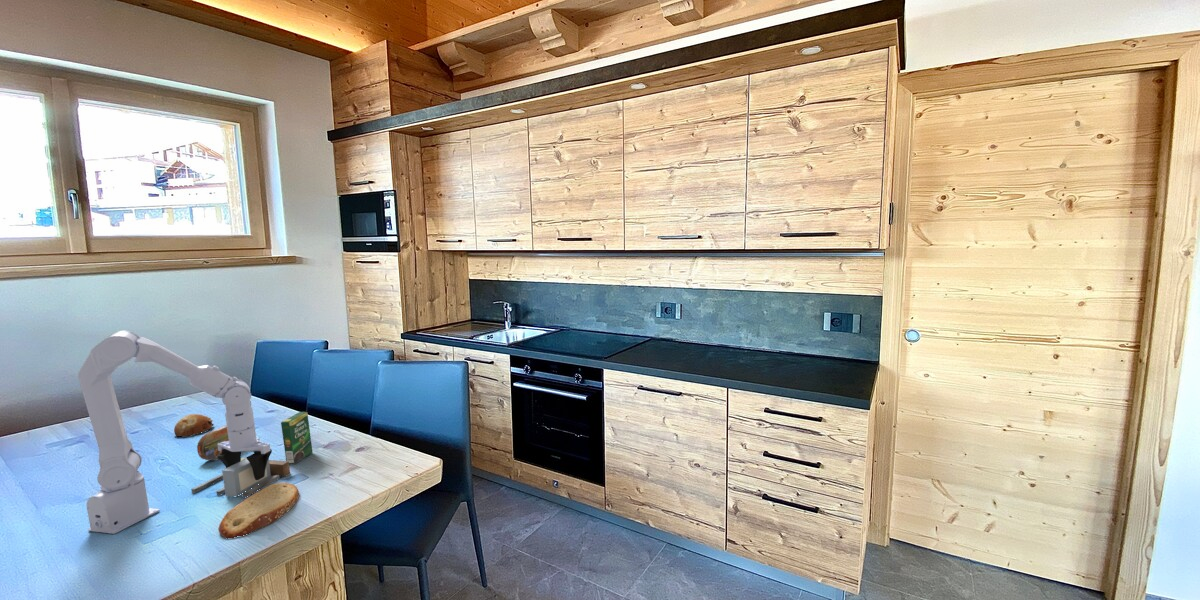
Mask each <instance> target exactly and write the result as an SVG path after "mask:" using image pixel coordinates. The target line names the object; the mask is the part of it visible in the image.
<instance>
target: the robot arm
mask: <svg viewBox="0 0 1200 600" xmlns="http://www.w3.org/2000/svg"><path fill="white" fill-rule="evenodd" d="M133 358H135V360H134V363H151V362H153V363H155V364H157V365H159V366H161V367H164V368H165V369H168V370H170V371H173V372H175V373H177V374H179V375H181V376H184V377H186V378H188V383H189V385H190V386H192V387H193V388H195V389H198V390H199V391H200V392H204V393H206V394H208V395H210V396H212V397H214V398H218V399H221V401H222V403H223V405H224V407H225V413H224V414H225V416H224V417H225V422H226V423H225V424H226V425H227V431H228V438H229V441H224V442H221V443H219V444H217V445H218V451H222V453H221V454H218V455H217V458H218V460H219V461H220V462H222V464H223V465H224V466H225V469H226V468H228V467H230V466H232V465H234V464H236V463H238V462H240V461H241V458H242V452H244V453H245V452H247V453H248V452H249V453H252V454H249V455H247V456H246V457H245V458H247V460H248V461H249V463H250V464H251V467H252V469H253V474H254V478H255V480H259V479H261V478H263V477H264V476H265V469H266V465H267V461H268V459H269V460H270V456H271V454H272V452H273V451H272V449H271V444H270V443H266V442H264V441H261V439H260V437H257V432H256V426H255V417H254V410H253V407H252V401H251V398H252V393H251V388H250V386H249V384H247V382H245V381H244V380H243V379H238V377H236V376H233V377H232V376H230V375H228V374H227V373H224V372H222V371H221V370H220V367H218V366H217V365H212V366H210V364H209V365H208V364H205V365H197V364H195V363H193V362H191V361H190V360H188V359H186V358H184V357H182V356H181V355H179V354H177V353H175V352H174V351H172V350H170V349H169V348H166V347H164V346H162V345H161V344H159V343H158V342H155V341H153V340H151V339H149V338H147V337H144V336H139V335H138V334H136V333H134V332H132V331H129V330H119V331H116V332H113V333H110V335H108V336H107V337H105V338H104V339H102V340H101V341H100V342H99V343H98V344H96V345H95V346H93V348H91V349H90V352H89V353H88V356H87V357H86V359H85V360H84V363H83V364H82V366H81V368H80V370H78V374H77V375H78V376H77V377H78V381H79V385H80V388H81V392H82V395H83V399H84V402H85V406H86V409H87V412H88V415H89V419H90V423H91V426H92V429H93V433H94V437H95V440H96V443H97V447H98V465H99V472H98V474H97V479H96V480H97V483H98V485H100V490H99V491H97V493H95V494H94V495H92V496H90V497H89V498H88V499H87V501H86V510H87V511H86V512H87V517H88V522H89V528H88V529H87V530H88V531H89V532H94V533H95V532H96V533H105V534H113V535H114V534H117V533H120V532H121V531H123V530H125V529H128V528H129V527H132V526H133V525H134V524H137V523H139V522H141V521H143V520H145V519H147V518H148V517H151V516H152V515H153V516H154V515H155V514H157V513H159V512H160V508H152V507H149V501H148V494H147V487H146V482H145V476H144V474H142V473H141V472H140V471H139V468H140V467H141V465H142V456H141V454H140V453H139V452H138V451H136V450H135V449H134V446H133V444H132V442H131V441H130V440H129V438H128V435H127V431H126V428H125V424H124V421H123V417H122V413H121V410H120V406H119V402H118V399H117V395H116V391H115V387H114V384H113V380H112V377H111V375H112V374H113V373H114V372H115V370H117V369H118V368H119V367H120V366H121V365H124V364H125V363H127V362H128V361H131V359H133Z"/></svg>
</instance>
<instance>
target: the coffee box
mask: <svg viewBox="0 0 1200 600" xmlns="http://www.w3.org/2000/svg"><path fill="white" fill-rule="evenodd" d="M309 421H310V420H309V415H308V412H307V411H299V412H297V413H295V414H294V415H292V416H289V417H288V418H286V419H284V420H282V421H281V422H280V426H281V433H282V434H281V435H282V440H283V448H284V454H285V461H289V465H296V464H298V463H299V462H301V460H303V459H305V458H306V457H308V456H310V455H311V454H312V453H313V445H312V436H311V430H310V423H309Z"/></svg>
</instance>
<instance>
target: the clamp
mask: <svg viewBox="0 0 1200 600" xmlns="http://www.w3.org/2000/svg"><path fill="white" fill-rule="evenodd" d="M244 459H246V457H241V461H242V460H244ZM269 465H270V473H271V478H269V479H268V480H266V481H264V482H262V483H260V484H259V485H257V486H255V487H253V488H252V489H250V490H248V491H246V492H244V493H243V494H242V495H241V497H242V498H243V497H246V498H248V497H250V496H252V495H253V494H255V493H256V491H257V490H259V489H260V490H262V489H263V487H264V488H266V487H268V486H270V485H272V484H273V483H274V482H276V481H277V479H278V480H280V479H279V478H280V477H279V476H282V477H283V476H285V477H287V476H288V475H290V474H291V470H290V469H291V468H290V464H289V461H286V460H273V459H269ZM286 475H287V476H286ZM282 477H281V478H282ZM283 478H284V477H283ZM221 479H222V480H223V474H222V473H221V474H219V475H217V476H215V477H213V478H211V479H209V480H207V481H205V482H203V483H201V484H200V485H197V486H195V487H193V488H191V493H192V494H196V493H198V492H201V491H202V490H205V489H206V488H208V487H210V486H212V485H214V484H216V483H218V482H220V481H222V480H221ZM219 480H220V481H219ZM217 481H218V482H217ZM215 482H216V483H215ZM272 482H273V483H272ZM213 483H214V484H213ZM211 484H212V485H211ZM209 485H210V486H209ZM207 486H208V487H207ZM265 486H266V487H265ZM205 487H206V488H205ZM261 488H262V489H261ZM260 490H259V491H260ZM254 492H255V493H254ZM257 492H258V491H257ZM215 493H216V496H222V495H224V494H225V488H224V487H222V488H221V489H218V490H216V492H215ZM223 493H224V494H223ZM252 493H253V494H252ZM221 494H222V495H221ZM251 494H252V495H251ZM249 495H250V496H249ZM247 496H248V497H247Z"/></svg>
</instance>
